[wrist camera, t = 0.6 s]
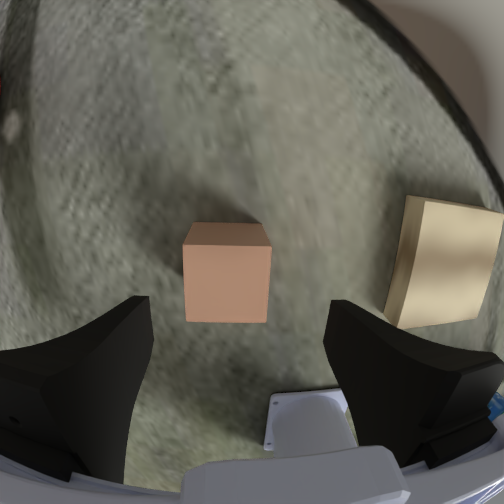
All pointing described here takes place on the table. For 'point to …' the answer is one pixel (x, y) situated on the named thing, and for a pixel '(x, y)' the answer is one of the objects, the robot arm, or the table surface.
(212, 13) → the table surface
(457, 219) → the base
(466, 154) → the table surface
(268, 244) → the block
